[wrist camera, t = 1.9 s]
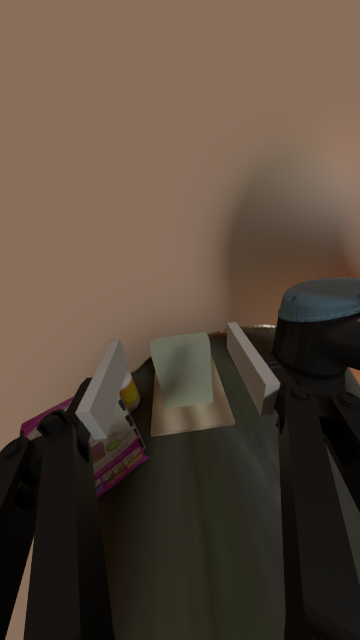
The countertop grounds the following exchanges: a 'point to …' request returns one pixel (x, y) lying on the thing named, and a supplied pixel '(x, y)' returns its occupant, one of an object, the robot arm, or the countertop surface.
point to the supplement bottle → (129, 392)
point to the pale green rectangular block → (183, 369)
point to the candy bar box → (106, 446)
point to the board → (191, 411)
